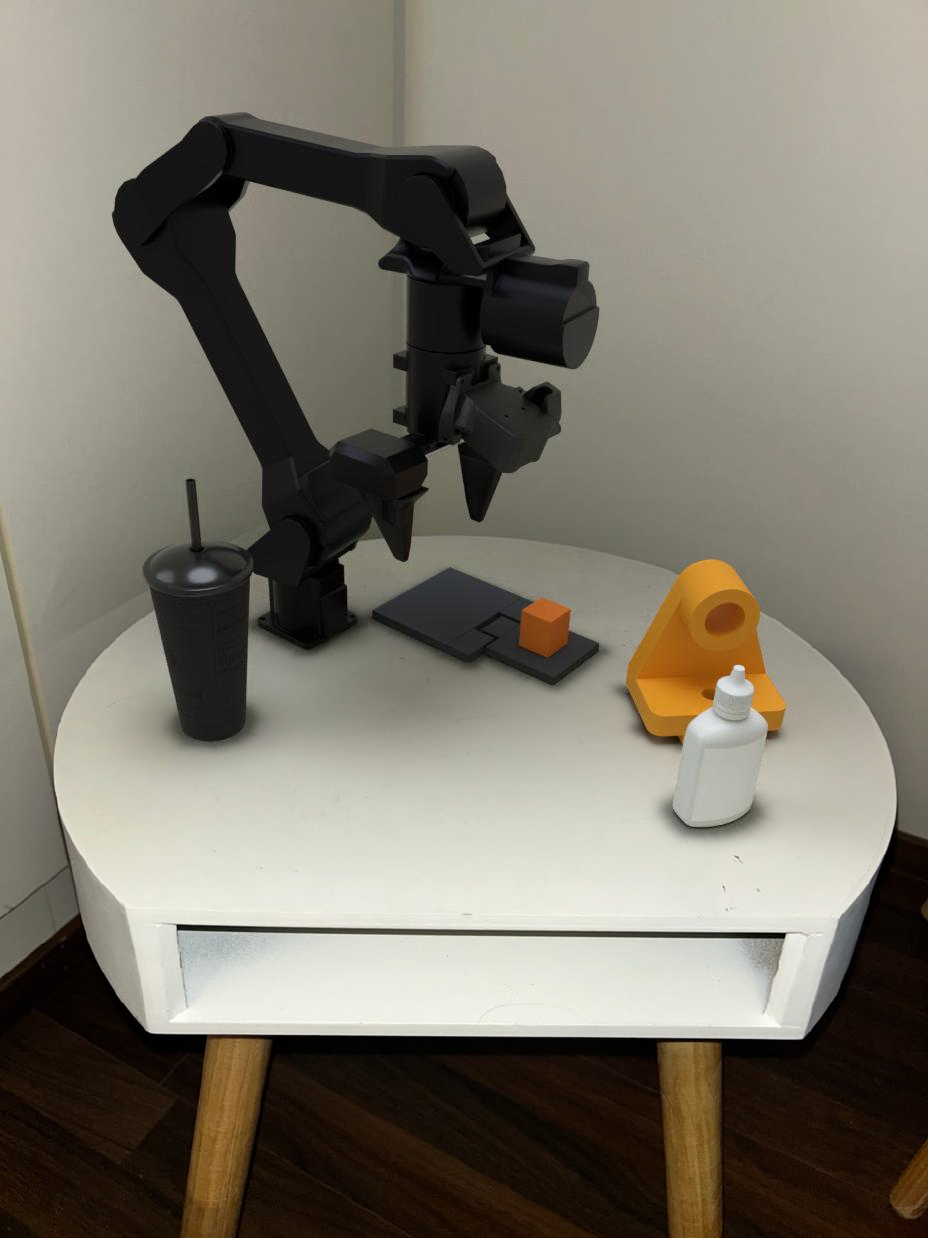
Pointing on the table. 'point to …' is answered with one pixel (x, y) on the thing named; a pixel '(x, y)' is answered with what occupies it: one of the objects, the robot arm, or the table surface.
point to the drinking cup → (203, 626)
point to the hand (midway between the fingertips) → (440, 539)
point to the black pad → (535, 661)
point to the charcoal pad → (451, 612)
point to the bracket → (700, 651)
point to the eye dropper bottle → (721, 756)
